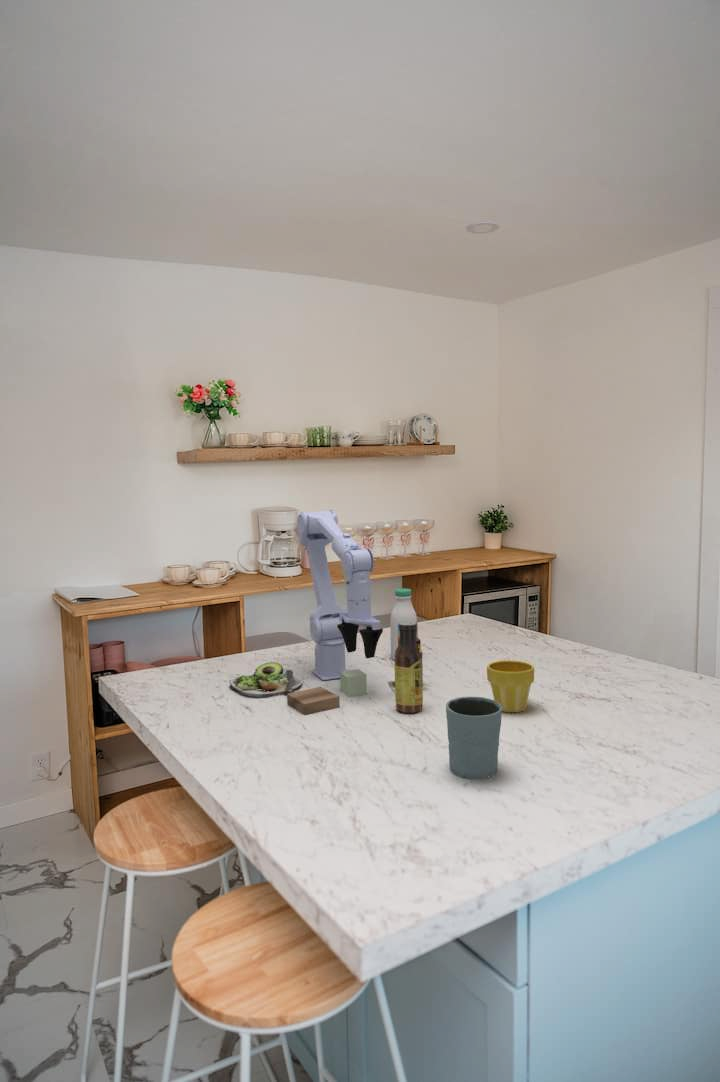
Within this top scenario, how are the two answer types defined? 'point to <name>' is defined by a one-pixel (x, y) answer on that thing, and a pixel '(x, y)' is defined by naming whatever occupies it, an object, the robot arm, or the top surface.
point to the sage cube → (353, 683)
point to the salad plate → (267, 681)
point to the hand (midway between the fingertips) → (360, 654)
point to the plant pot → (510, 683)
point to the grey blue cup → (473, 736)
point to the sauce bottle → (408, 671)
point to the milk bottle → (401, 616)
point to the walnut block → (313, 700)
